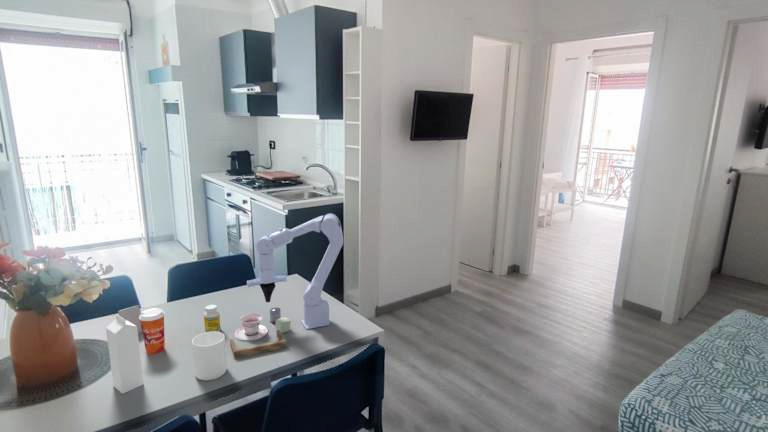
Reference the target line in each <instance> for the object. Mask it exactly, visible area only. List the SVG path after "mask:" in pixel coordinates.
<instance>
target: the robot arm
mask: <svg viewBox="0 0 768 432" xmlns="http://www.w3.org/2000/svg"><path fill="white" fill-rule="evenodd" d="M312 231H313V232H317V233H321V232H322V233H323V234H324V235H325V236H326V237H327V239H328V241H329V244H328V246H327V249H326V250H325V253H324V255H323V258H322V260H321V262H320V264H319V266H318V268H317V270H316V272H315V274H314V276H313V278H312V280H311V281H310V282H309V283H308V284H307V285H306V287H305V292H304V295H303V319H301V320H300V321H301V323H302V325H303V326H304V328H305V329H306V330H310V329H314V328H321V327H325V326H330V324H331V323H330V307H329V302H328V300H326V299H322V297H321V295H322V291H323V288H324V285H325V283H326V281H327V279H328V277H329V275H330V272H331V270H332V268H333V266H334V264H335V262H336V260H337V257H338V255H339V253H340V251H341V249H342V247H343V245H344V236H343V229H342V223H341V221H340V219H339V217H338V216H337V215H336V214H334V213H326V214H325V215H319V216H317V217H315V218H312V219H311V220H308V221H306V222H304V223H301V224H299V225H297V226H295V227H293V228H291V229H290V228H287V227H285V228H283V227H280V228H278V230H277V231H275V232H273V233H267V234H266V235H263V236H262V237H261V238H260V239H259V240H258V241H257V243H256V250H257V252H258V260H257V261H258V277H256V278H253V279H250V280H246V286H247V287H248V288H251V287H255V286H259V287H260V288H261V291H262V293H263V295H264V299H265V303H271V300H272V299H271V298H272V295H273V292H274V291H275V288H276V283H281V282H283V283H285V282H286V283H287V279H288V278H287V276H286V275H275V253H274V249H278V248H281V247H283V246H286V245H287V244H290V243H292V242H293V239H294V238H297V237H300V236H302V235H305V234H307V233H309V232H312Z"/></svg>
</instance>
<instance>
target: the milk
mask: <svg viewBox="0 0 768 432" xmlns="http://www.w3.org/2000/svg"><path fill="white" fill-rule="evenodd" d="M105 330H106V339H107V340H106V341H107V347H108V353H109V354H108V356H109V361H110V371H111V379H112V385H113V387H114V388H115V390H117V391H119V392H120V393H121V394H122V395H123V394H125V393H127V392H131V391H132V390H134V389H137V388H139V387H141V386H143V385H144V378H143V367H142V360H141V351H140V350H141V349H140V341H139V333H138V330H137V326H136V325H134V324H132V323H131V322H129V321H127V320H125V319H123V318H122V317H120V316H119V315H118V314H117V313H116V314H115V319H114V320H113V321H112V322H111V323H110V324H108V325H107V326H106V327H105Z"/></svg>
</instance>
